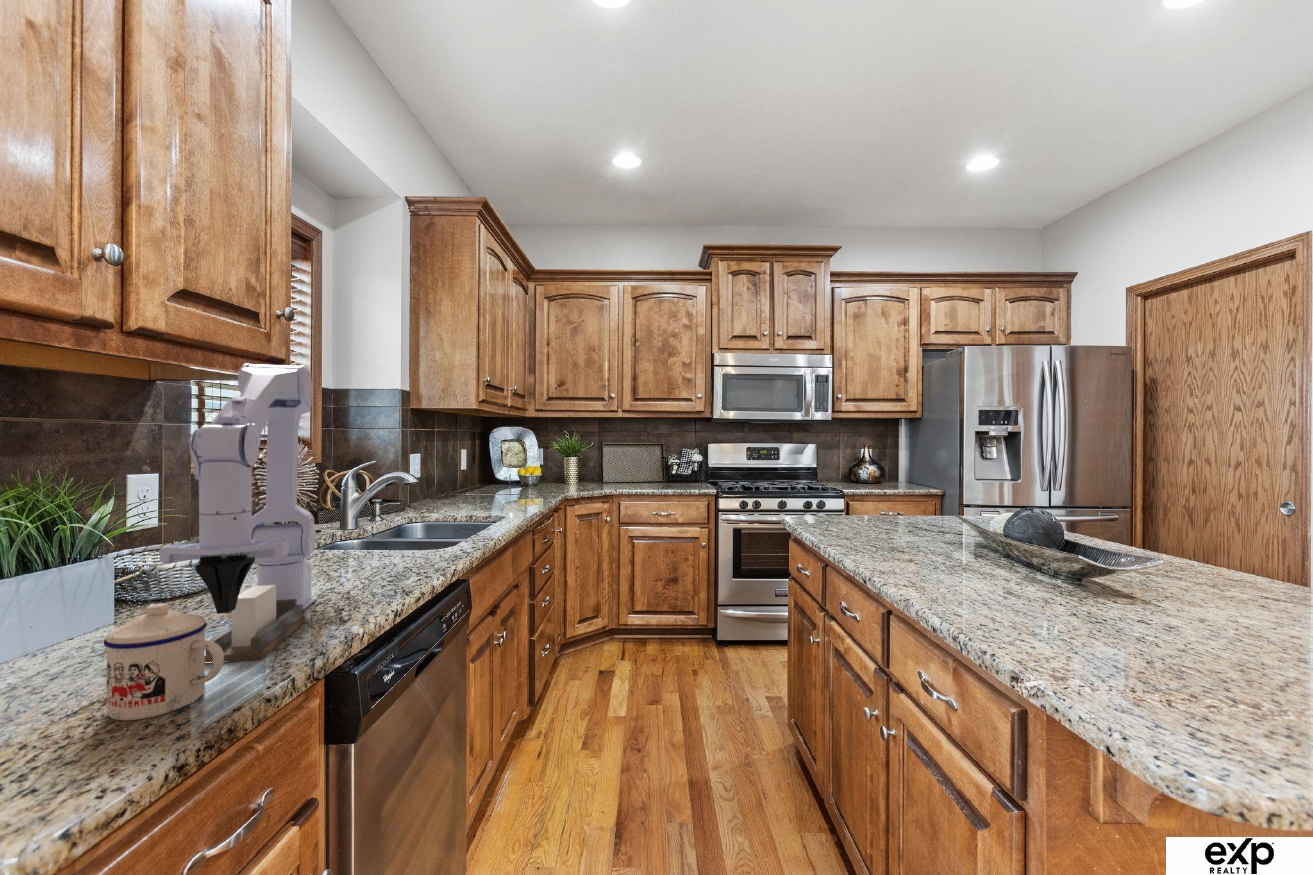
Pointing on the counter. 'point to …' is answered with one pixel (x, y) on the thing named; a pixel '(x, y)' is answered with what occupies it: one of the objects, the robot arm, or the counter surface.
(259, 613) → the beige rectangular block
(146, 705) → the teacup with lid
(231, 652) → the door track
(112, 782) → the counter surface
